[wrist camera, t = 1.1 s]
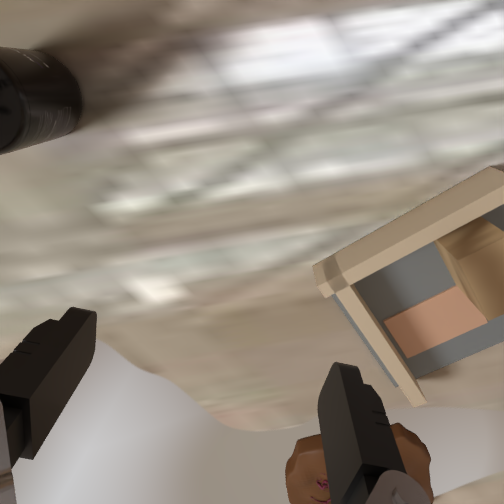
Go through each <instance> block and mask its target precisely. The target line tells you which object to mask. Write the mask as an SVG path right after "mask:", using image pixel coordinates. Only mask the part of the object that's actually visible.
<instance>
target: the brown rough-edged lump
mask: <svg viewBox="0 0 504 504" xmlns="http://www.w3.org/2000/svg"><path fill="white" fill-rule="evenodd" d="M390 428H391V429H392V432H393V435H394V438H395V441H396V444H397V447H398V449H399V452H400V455H401V458H402V461H403V464H404V467H405V470H406V472H407V475H409V476H410V477H412V478H413V479H414V480H415V481H417V482H418V483H419V485H420V486H421V487H422V488H423V489H424V491H425V492H426V494H427V495H428V497H429V499H430V502H431V503H433V500H434V497H433V491H432V488H431V485H430V474H429V464H430V461H431V457H430V454H429V452H428V450H427V447H426V445H425V444H424V443H423V442H421V440H420V439H419V438H418V436H417V435H416V434H415V433H413V432H412V431H410V430H408V429H406V428H405V427H404V426H403V425H402V424H400V423H395V424H392V425H390ZM285 473H286V474H285V475H286V487H287V492H288V498H289V501H290V503H291V504H331V499H330V492H329V485H328V478H327V472H326V465H325V458H324V451H323V444H322V438H321V434H316V435H312V436H308V437H304V438H301V439H298V440H297V442H296V445H295V449H294V452H293V454H292V456H291V457H290V458H289V459H288V461H287V463H286V470H285Z"/></svg>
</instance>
